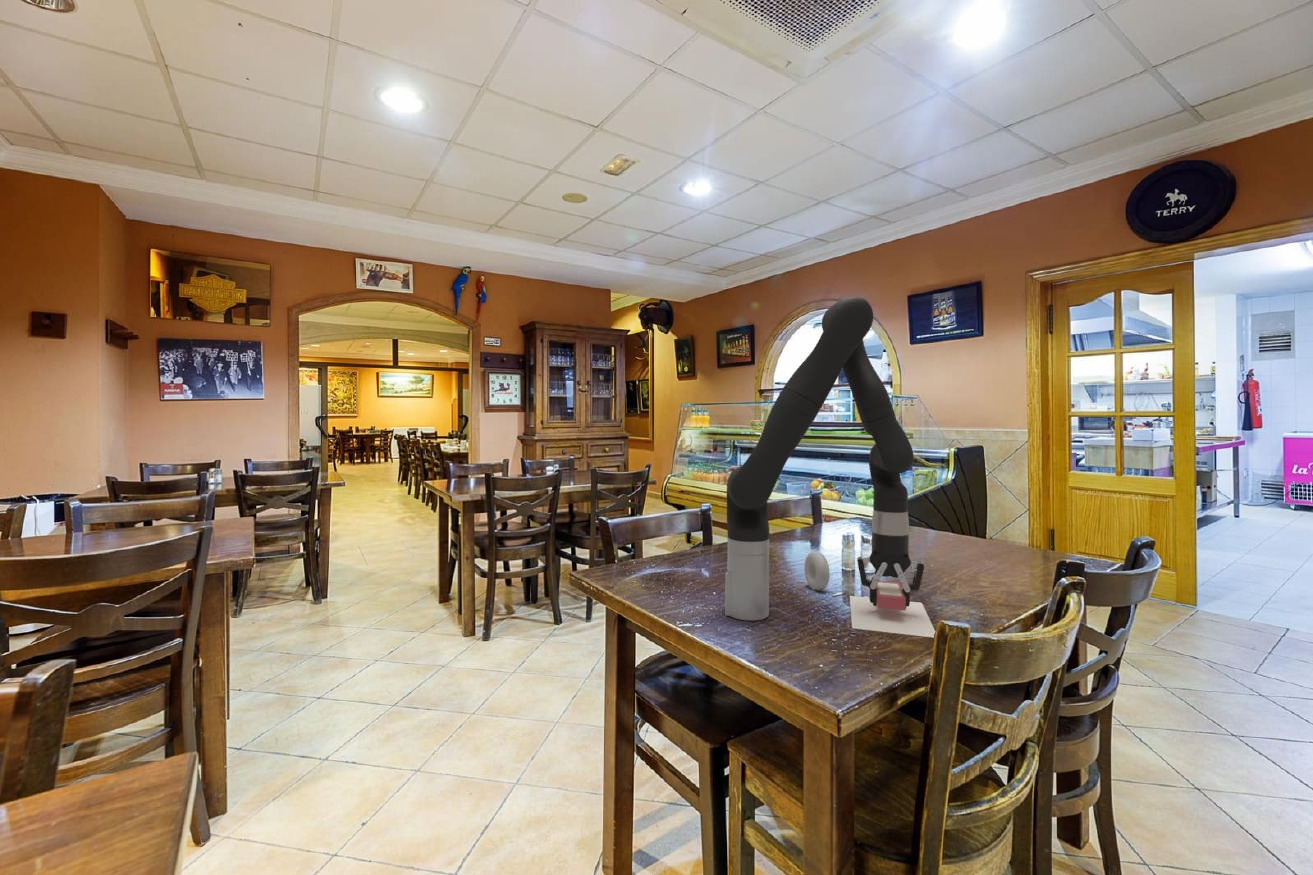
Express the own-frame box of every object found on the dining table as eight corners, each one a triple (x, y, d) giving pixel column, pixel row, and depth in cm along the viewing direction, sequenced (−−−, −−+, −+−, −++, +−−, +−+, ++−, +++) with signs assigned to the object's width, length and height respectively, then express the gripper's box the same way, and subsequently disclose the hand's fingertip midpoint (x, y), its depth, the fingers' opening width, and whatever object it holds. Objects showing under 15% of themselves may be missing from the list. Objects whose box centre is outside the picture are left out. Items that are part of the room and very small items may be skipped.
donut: (832, 596, 134) (832, 556, 134) (818, 596, 134) (819, 556, 134) (814, 584, 144) (814, 547, 144) (801, 584, 144) (802, 547, 143)
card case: (873, 591, 128) (877, 607, 116) (874, 580, 128) (877, 595, 116) (899, 593, 126) (905, 610, 115) (899, 582, 126) (905, 598, 115)
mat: (852, 630, 112) (852, 628, 112) (849, 598, 133) (849, 595, 133) (938, 640, 107) (938, 637, 107) (921, 605, 128) (921, 602, 128)
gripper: (856, 531, 119) (855, 608, 119) (928, 536, 114) (927, 615, 115) (855, 525, 126) (854, 597, 126) (923, 529, 121) (922, 604, 122)
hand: (889, 605), depth 121 cm, fingers closed on card case, 5 cm apart
